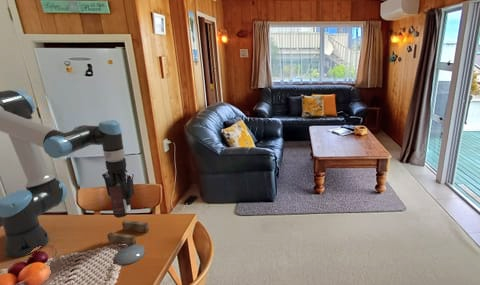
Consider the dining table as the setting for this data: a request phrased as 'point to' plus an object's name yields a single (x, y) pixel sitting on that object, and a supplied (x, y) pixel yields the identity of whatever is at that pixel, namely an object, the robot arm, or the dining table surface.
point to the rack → (124, 238)
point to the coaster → (130, 254)
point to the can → (117, 200)
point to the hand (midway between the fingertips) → (123, 210)
